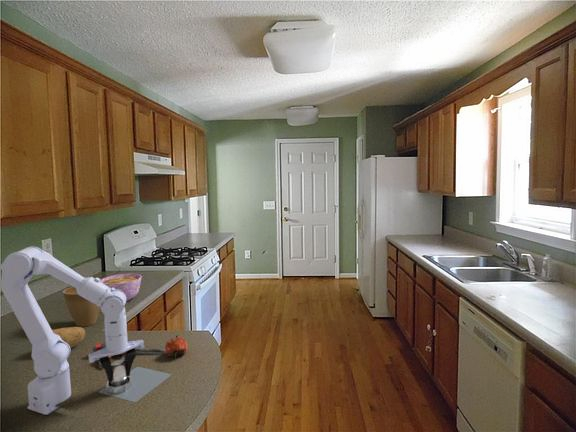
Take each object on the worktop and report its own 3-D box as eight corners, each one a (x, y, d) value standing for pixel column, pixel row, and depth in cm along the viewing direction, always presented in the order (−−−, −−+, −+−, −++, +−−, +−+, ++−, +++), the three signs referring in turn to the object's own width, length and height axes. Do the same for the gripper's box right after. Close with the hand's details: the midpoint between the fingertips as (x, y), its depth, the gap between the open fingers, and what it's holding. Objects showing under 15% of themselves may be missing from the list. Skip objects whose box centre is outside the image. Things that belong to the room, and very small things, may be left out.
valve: (77, 374, 117) (102, 347, 131) (153, 379, 116) (170, 351, 130) (74, 358, 115) (100, 332, 130) (152, 362, 114) (169, 336, 129)
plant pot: (107, 315, 164) (105, 282, 162) (101, 327, 150) (99, 291, 148) (71, 319, 159) (68, 285, 158) (61, 332, 145) (58, 295, 143)
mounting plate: (135, 405, 96) (135, 402, 96) (98, 395, 102) (97, 391, 101) (172, 377, 110) (171, 374, 110) (137, 369, 115) (137, 366, 115)
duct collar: (118, 396, 99) (118, 390, 99) (101, 391, 102) (100, 385, 102) (137, 383, 106) (136, 377, 105) (120, 378, 108) (119, 373, 108)
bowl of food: (92, 305, 178) (90, 283, 177) (117, 293, 197) (116, 273, 196) (127, 307, 174) (126, 284, 173) (150, 294, 194) (149, 274, 193)
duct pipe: (128, 387, 103) (127, 364, 103) (112, 392, 101) (110, 369, 100) (125, 379, 107) (124, 358, 106) (109, 384, 104) (108, 362, 104)
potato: (85, 350, 129) (83, 329, 128) (39, 359, 123) (37, 337, 123) (87, 340, 138) (86, 320, 137) (44, 347, 132) (43, 326, 131)
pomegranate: (188, 366, 121) (192, 339, 129) (181, 356, 116) (185, 329, 124) (166, 368, 122) (172, 341, 129) (159, 359, 117) (165, 331, 124)
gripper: (138, 322, 110) (140, 363, 111) (85, 335, 101) (88, 380, 102) (145, 329, 104) (147, 373, 106) (89, 344, 95) (93, 391, 97)
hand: (118, 377), depth 103 cm, fingers closed on duct pipe, 4 cm apart
